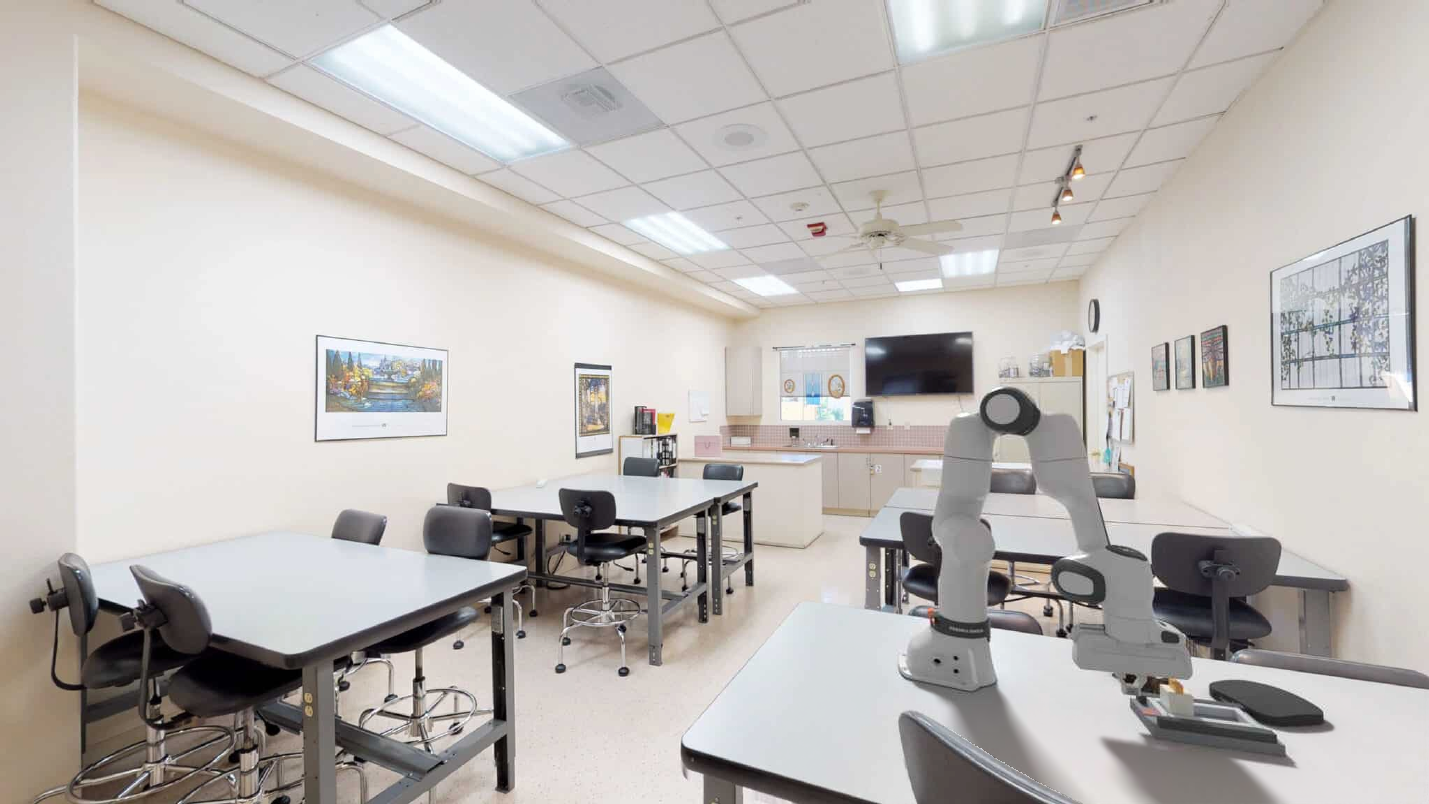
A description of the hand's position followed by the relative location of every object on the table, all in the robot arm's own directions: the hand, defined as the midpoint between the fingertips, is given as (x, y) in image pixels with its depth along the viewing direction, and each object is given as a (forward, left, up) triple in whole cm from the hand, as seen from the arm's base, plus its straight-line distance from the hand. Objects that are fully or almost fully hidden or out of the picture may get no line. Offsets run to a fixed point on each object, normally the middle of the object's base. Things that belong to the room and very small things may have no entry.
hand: (1130, 694), depth 114 cm
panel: (+12, 0, -5) cm, 13 cm away
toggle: (+8, 0, -3) cm, 8 cm away
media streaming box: (+29, +14, -6) cm, 32 cm away
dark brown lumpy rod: (+8, +17, -6) cm, 20 cm away
